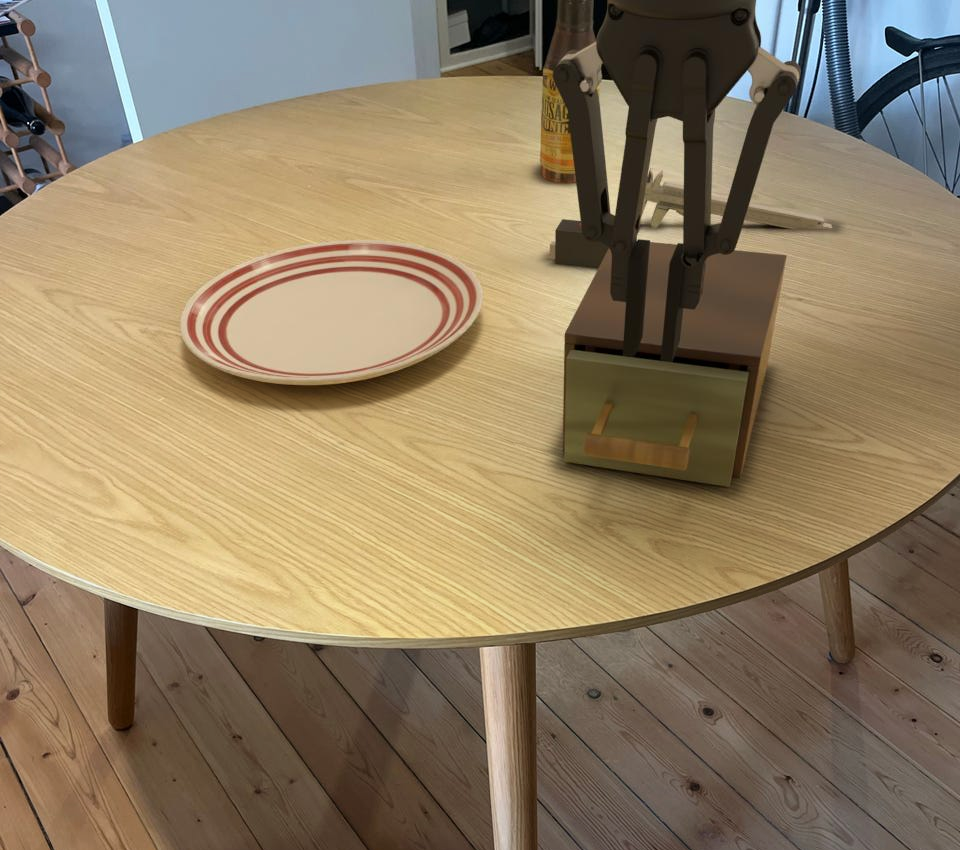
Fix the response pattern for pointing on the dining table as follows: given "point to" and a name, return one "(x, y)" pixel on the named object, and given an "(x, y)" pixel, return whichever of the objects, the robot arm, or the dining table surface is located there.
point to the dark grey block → (575, 246)
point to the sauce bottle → (555, 129)
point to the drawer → (653, 414)
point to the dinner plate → (331, 312)
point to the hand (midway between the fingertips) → (651, 347)
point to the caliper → (723, 207)
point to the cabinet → (694, 319)
